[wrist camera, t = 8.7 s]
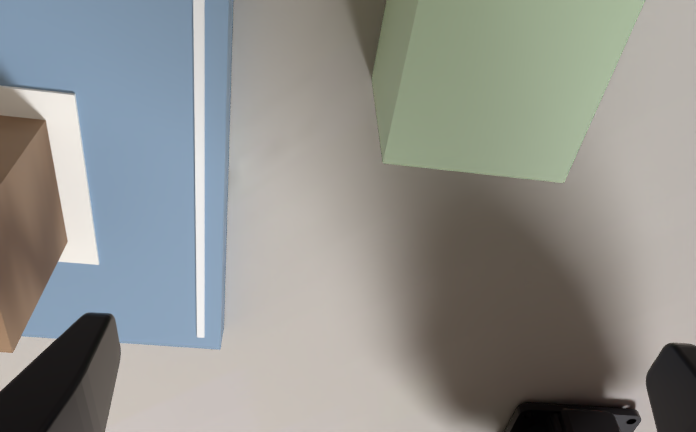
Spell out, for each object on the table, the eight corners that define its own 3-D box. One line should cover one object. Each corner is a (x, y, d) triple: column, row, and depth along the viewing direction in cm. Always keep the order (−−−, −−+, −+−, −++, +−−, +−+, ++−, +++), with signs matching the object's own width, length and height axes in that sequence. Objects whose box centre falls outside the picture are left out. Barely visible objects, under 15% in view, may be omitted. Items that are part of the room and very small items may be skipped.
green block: (518, 96, 21) (563, 183, 17) (371, 78, 20) (382, 163, 16) (573, -61, 18) (645, 0, 14) (402, -88, 17) (425, -33, 13)
